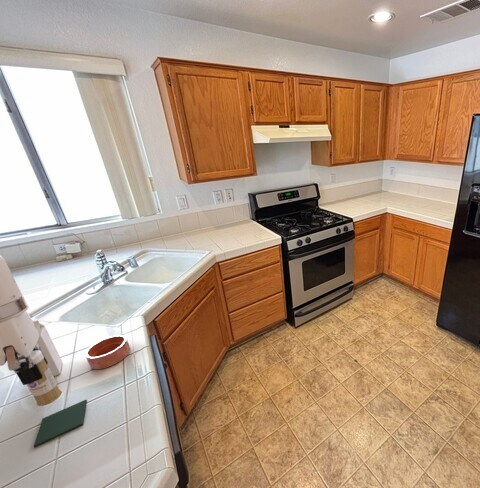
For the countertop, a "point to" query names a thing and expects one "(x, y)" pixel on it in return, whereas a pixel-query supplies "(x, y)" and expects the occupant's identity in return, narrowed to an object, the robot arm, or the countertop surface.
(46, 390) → the sprinkles bottle
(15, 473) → the countertop surface
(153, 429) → the countertop surface
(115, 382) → the countertop surface
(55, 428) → the mat
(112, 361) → the bowl
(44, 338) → the milk carton
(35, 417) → the countertop surface
